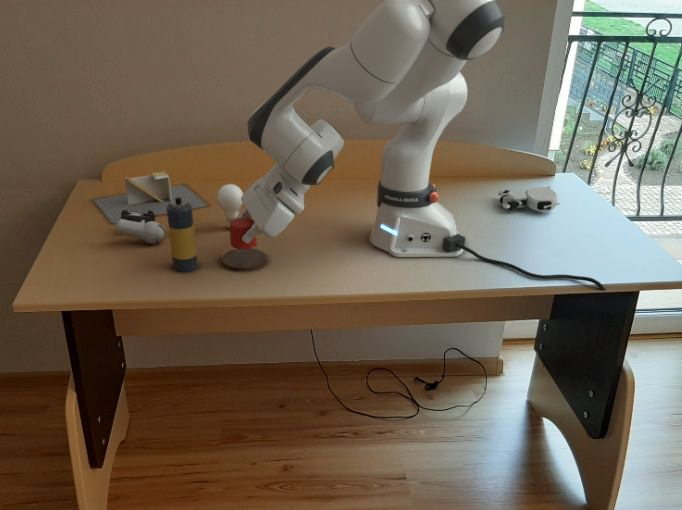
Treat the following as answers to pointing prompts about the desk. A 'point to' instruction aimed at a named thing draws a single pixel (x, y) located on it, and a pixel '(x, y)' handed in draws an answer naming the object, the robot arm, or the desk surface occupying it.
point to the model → (146, 196)
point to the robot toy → (530, 199)
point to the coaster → (244, 259)
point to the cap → (238, 229)
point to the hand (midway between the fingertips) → (240, 234)
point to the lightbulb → (230, 201)
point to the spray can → (182, 235)
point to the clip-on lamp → (140, 226)
